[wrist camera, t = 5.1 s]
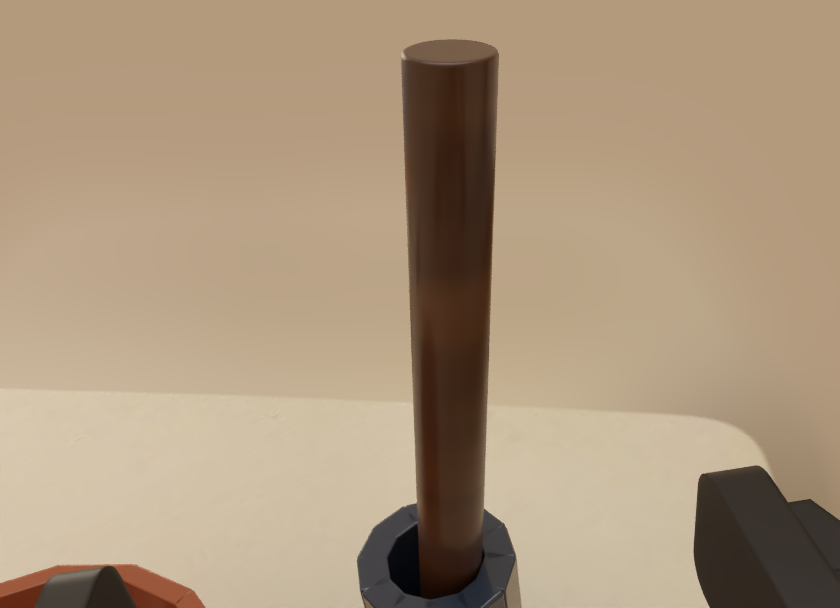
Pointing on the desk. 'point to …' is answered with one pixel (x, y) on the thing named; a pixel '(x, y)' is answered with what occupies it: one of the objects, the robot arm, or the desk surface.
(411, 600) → the tube
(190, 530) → the desk surface
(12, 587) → the bowl
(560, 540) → the desk surface
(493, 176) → the stick
